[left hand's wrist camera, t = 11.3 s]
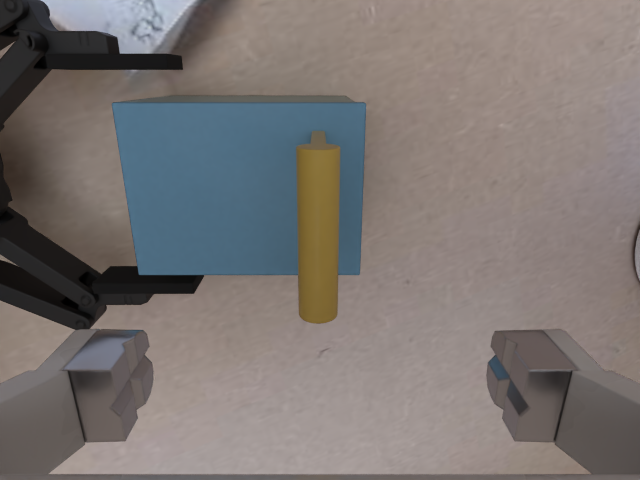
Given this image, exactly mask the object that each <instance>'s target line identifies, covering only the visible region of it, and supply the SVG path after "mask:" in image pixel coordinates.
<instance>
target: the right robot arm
mask: <svg viewBox="0 0 640 480" xmlns="http://www.w3.org/2000/svg"><path fill="white" fill-rule="evenodd" d="M49 16H50V11H49V8H48V6H47V5H46V4H45V3H44V2H42V1H41V0H0V50H2V49H3V48H5V47H7V46H8V45H10V44H11V43H13V42H14V44H13V45H12V46H11V47H10V48H9V50H8V51H7V52H6V53H5V54H4V55H3V57H2V58H1V59H0V132H1V130H2V129H3V128H4V125H3V123H4V122H5V121H6V120H7V119H8V117H9V116H10V115H11V114H12V113H13V112H14V111H15V110H16V109H17V107H18V106H19V105H20V104H21V103H22V102H23V101H24V100H25V99H26V97H27V96H28V95H29V94H30V93H31V92H32V91H33V90H34V89H35V87H36V86H37V85H38V84H39V83H40V82H41V81H42V80H43V78H44V77H45V76H46V75H47V74H48V73H49V72H50V71H51V70H52V69H66V70H183V66H182V56H178V55H171V54H120V52H119V46H118V39H117V37H115V36H113V35H110V34H107V33H103V32H98V31H58V30H57V29H56V28H55V27H54V26H53V24H52V22H51V20H50V19H49ZM10 201H12V197H11V193H10V189H9V187H8V185H7V183H6V182H5V180H4V178H3V162H2V158H1V154H0V254H1V255H2V256H4V257H5V258H7V259H8V260H10V261H12V262H13V263H15V264H16V265H18V266H19V267H18V266H16V265H13V264H11V263H8V262H5V261H1V260H0V300H1V301H3V302H6V303H8V304H11V305H14V306H16V307H19V308H21V309H24V310H26V311H29V312H31V313H34V314H37V315H39V316H42V317H44V318H47V319H49V320H52V321H54V322H57V323H60V324H62V325H65V326H67V327H70V328H72V329H75V330H80V329H90V328H91V327H92V326H93V325H94V323H95V322H96V321H97V320H98V319H99V318H100V317H101V316H102V315H103V314H104V312H105V311H106V309H107V306H106V305H126V304H127V305H132V304H133V305H141V304H144V303H147V302H148V301H149V300H150V298H151V297H152V296H153V294H194V293H195V291H196V289H197V287H198V286H199V284H200V282H201V281H202V279H203V277H204V275H139V273H138V267H137V266H110V267H109V268H108V269H107V270H106V271H105V272H104V273H103V274H100V273H99V272H97V271H96V270H94V269H93V268H91V267H90V266H88V265H87V264H85V263H84V262H82V261H81V260H79V259H78V258H76V257H75V256H73V255H72V254H70V253H69V252H67V251H66V250H64V249H63V248H62V247H60V246H59V245H57V244H56V243H54V242H53V241H51V240H50V239H48V238H47V237H45V236H44V235H42V234H41V233H39V232H38V231H36V230H35V229H33V228H32V227H30V226H29V225H28V221H27V219H26V218H25V217H23V216H22V215H20V214H19V213H17V212H16V211H14V210H13V209H11V208H10V207H8V202H10Z"/></svg>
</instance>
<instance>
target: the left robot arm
mask: <svg viewBox="0 0 640 480" xmlns="http://www.w3.org/2000/svg"><path fill="white" fill-rule="evenodd" d="M635 266H636V271H637V275H638V278H639V280H640V230H639V233H638V236H637V241H636V247H635ZM148 348H149V342H148V337H147V334H146V333H145V332H144V331H143V330H111V329H101V330H100V329H80V330H75V331H74V332H73V333H72V334H71V335H70V336H69V337H68V338H67V339H66V340H65V341H64V342H63V343H62V344H61V345H60V346H59V347H58V348H57V349H56V350H55V351H54V352H53V353H52V354H51V355H50V356H49V357H48V358H47V359H46V360H45V362H44V363H43V364H42V365H41V366H40V367H39V368H38V369H37V370H36V371H27V372H24V373H22V374H20V375H18V376H16V377H13V378H11V379H9V380H7V381H5V382H2V383H0V480H640V383H638V382H635V381H633V380H631V379H629V378H627V377H624V376H622V375H620V374H618V373H616V372H613V371H604V370H603V369H602V368H601V367H600V366H599V365H598V363H597V362H596V361H595V360H594V359H593V358H592V357H591V356H590V355H589V354H588V353H587V352H586V351H585V350H584V349H583V348H582V347H581V346H580V345H579V344H578V343H577V342H576V341H575V340H574V339H573V338H572V337H571V336H570V335H569V334H568V333H567V332H566V331H564V330H562V329H543V330H508V331H495V332H494V334H493V336H492V341H491V348H492V349H493V351H494V353H495V354H496V355H495V356H494V357H493V358H492V359H491V360H490V361H489V362H488V367H487V386H488V390H489V393H490V396H491V398H492V400H493V402H494V404H496V405H497V406H499V407H500V408H502V409H503V416H502V419H503V421H504V423H505V424H506V426H507V428H508V430H509V432H510V434H511V435H512V437H513V439H514V441H524V442H555V445H556V446H558V447H559V448H560V449H561V450H563V451H564V452H565V453H566V454H568V455H569V456H570V457H571V458H573V459H574V460H575V461H577V462H578V463H579V464H580V465H582V466H583V467H584V468H585V469H587V470H588V471H589V472H590V473H592V474H49V473H50V472H51V471H52V470H54V469H55V468H56V467H57V466H59V465H60V464H61V463H62V462H64V461H65V460H66V459H67V458H69V457H70V456H71V455H72V454H74V453H75V452H76V451H77V450H79V449H80V448H81V447H82V446H84V445H85V442H115V441H126V439H127V437H128V435H129V434H130V432H131V430H132V428H133V426H134V424H135V423H136V421H137V419H138V416H137V409H138V408H140V407H141V406H143V405H144V404H146V402H147V400H148V398H149V396H150V393H151V389H152V385H153V366H152V362H151V361H150V360H149V359H148V358H147V357H146V356H145V355H144V354H145V353H146V351H147V349H148Z"/></svg>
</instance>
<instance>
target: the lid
mask: <svg viewBox="0 0 640 480" xmlns="http://www.w3.org/2000/svg"><path fill="white" fill-rule="evenodd" d="M112 108H113V115H114V121H115V127H116V134H117V140H118V146H119V153H120V159H121V165H122V172H123V178H124V184H125V191H126V197H127V203H128V210H129V216H130V222H131V229H132V235H133V241H134V248H135V254H136V260H137V267H138V273H139V275H298V289H299V316H300V317H301V318H302V319H303V320H305V321H307V322H310V323H326V322H330V321H332V320H333V319H335V318H336V316H337V311H338V275H360V258H361V231H362V203H363V176H364V148H365V121H366V103H364V102H115V103H112Z"/></svg>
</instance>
